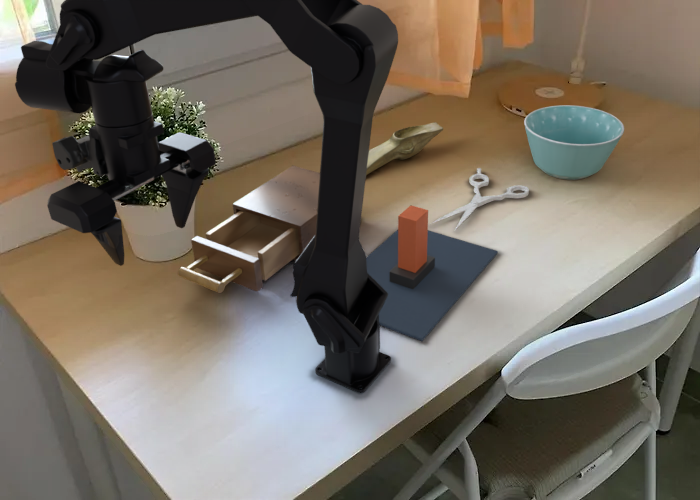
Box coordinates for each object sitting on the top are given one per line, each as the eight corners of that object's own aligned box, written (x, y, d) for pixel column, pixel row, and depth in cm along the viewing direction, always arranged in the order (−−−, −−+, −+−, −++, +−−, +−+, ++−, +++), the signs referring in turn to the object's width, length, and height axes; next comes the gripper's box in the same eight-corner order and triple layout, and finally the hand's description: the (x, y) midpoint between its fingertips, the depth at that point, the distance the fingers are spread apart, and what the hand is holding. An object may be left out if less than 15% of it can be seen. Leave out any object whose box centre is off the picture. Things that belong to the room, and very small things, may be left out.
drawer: (232, 312, 88) (227, 282, 85) (169, 285, 93) (163, 257, 91) (317, 244, 100) (315, 216, 98) (257, 224, 106) (254, 197, 103)
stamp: (413, 289, 91) (414, 227, 86) (389, 281, 93) (389, 219, 88) (434, 267, 95) (437, 206, 90) (411, 259, 97) (412, 199, 92)
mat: (422, 341, 83) (422, 338, 83) (319, 301, 90) (319, 299, 90) (497, 253, 98) (497, 250, 98) (404, 225, 106) (404, 223, 105)
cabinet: (303, 264, 98) (300, 226, 94) (237, 240, 104) (232, 203, 100) (359, 219, 108) (358, 183, 104) (295, 199, 113) (292, 165, 110)
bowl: (612, 196, 111) (622, 148, 106) (512, 182, 116) (517, 136, 111) (617, 154, 123) (626, 110, 118) (526, 144, 128) (531, 101, 123)
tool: (347, 191, 117) (344, 167, 115) (329, 175, 122) (326, 152, 119) (456, 150, 125) (456, 127, 122) (435, 136, 130) (435, 114, 127)
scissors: (536, 184, 113) (472, 237, 100) (535, 188, 114) (472, 241, 101) (478, 167, 119) (411, 215, 106) (478, 171, 119) (411, 220, 106)
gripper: (139, 75, 82) (162, 193, 91) (-6, 132, 69) (37, 262, 78) (209, 93, 77) (226, 216, 85) (66, 158, 64) (103, 295, 72)
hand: (151, 244), depth 80 cm, fingers open, 9 cm apart
